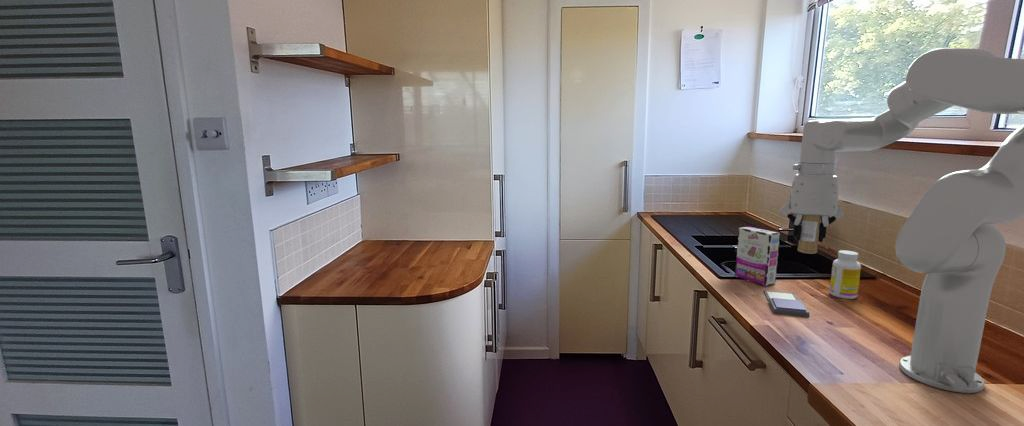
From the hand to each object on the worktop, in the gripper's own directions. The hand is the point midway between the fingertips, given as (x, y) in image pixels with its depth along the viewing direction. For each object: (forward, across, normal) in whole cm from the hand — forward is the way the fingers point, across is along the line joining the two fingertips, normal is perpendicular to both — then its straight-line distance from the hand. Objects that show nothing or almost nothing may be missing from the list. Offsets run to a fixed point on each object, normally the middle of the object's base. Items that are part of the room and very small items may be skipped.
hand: (808, 239), depth 124 cm
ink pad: (+19, -3, -1) cm, 20 cm away
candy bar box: (+20, -9, +22) cm, 31 cm away
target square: (+19, -3, +8) cm, 21 cm away
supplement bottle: (+20, +14, +16) cm, 29 cm away
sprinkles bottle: (+4, 0, 0) cm, 4 cm away
